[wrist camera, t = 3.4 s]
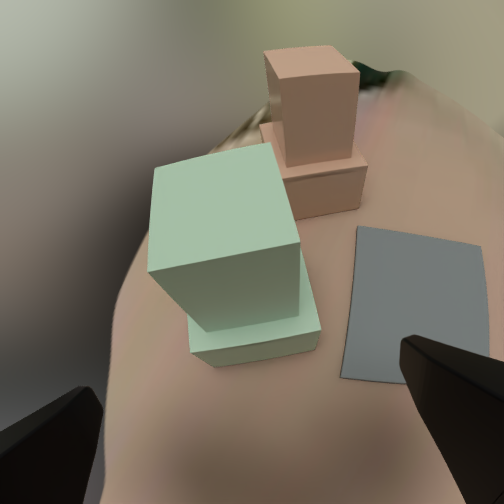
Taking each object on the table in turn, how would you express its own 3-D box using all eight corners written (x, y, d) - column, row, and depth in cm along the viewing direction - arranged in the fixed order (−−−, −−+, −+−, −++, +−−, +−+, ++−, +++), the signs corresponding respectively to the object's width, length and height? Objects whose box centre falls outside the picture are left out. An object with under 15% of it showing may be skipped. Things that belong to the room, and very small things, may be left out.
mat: (484, 385, 15) (487, 384, 15) (339, 377, 18) (340, 376, 18) (478, 249, 21) (480, 246, 20) (356, 228, 24) (357, 225, 23)
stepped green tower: (315, 349, 19) (340, 263, 9) (214, 367, 20) (120, 304, 9) (294, 261, 23) (288, 125, 12) (205, 278, 23) (136, 159, 13)
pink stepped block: (358, 208, 25) (381, 79, 14) (279, 223, 25) (264, 88, 14) (333, 155, 28) (338, 40, 18) (265, 166, 29) (247, 49, 18)
